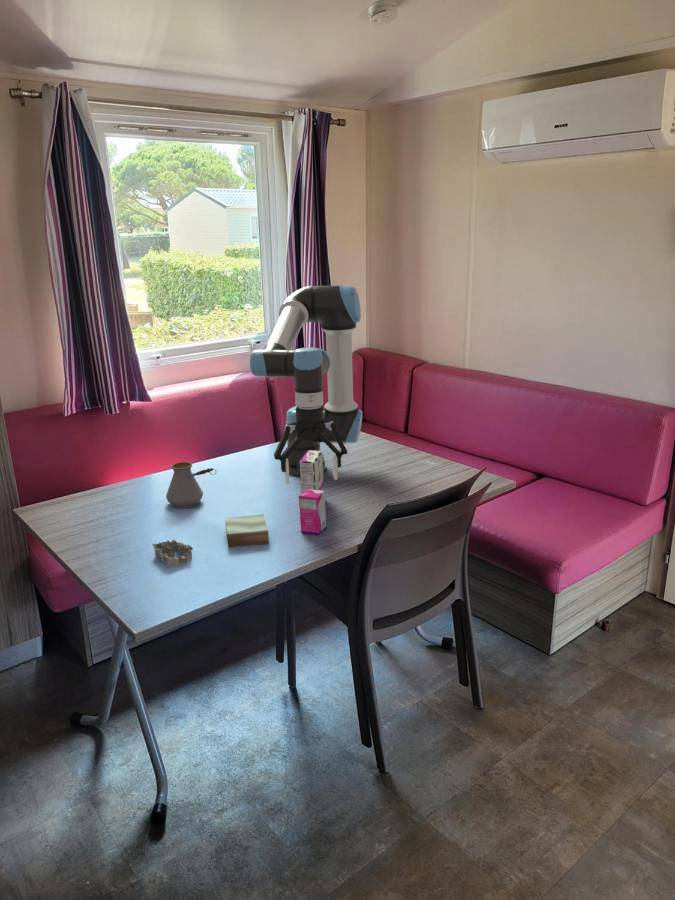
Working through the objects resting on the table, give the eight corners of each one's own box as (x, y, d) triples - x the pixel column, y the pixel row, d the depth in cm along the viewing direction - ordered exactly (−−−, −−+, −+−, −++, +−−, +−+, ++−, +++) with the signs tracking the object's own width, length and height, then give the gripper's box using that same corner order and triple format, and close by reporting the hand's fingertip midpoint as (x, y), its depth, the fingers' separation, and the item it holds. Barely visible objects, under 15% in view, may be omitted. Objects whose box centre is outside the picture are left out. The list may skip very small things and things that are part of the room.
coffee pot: (159, 504, 211) (154, 459, 206) (188, 493, 219) (184, 450, 215) (202, 521, 198) (198, 474, 193) (231, 509, 206) (228, 463, 201)
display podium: (226, 531, 191) (225, 518, 190) (264, 527, 193) (263, 514, 192) (228, 547, 181) (227, 534, 180) (268, 543, 183) (267, 530, 182)
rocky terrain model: (195, 561, 174) (194, 547, 173) (169, 570, 170) (167, 556, 168) (177, 547, 182) (176, 533, 181) (151, 555, 178) (150, 541, 176)
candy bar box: (309, 498, 214) (307, 449, 209) (324, 499, 213) (323, 450, 208) (300, 511, 203) (298, 461, 198) (316, 513, 202) (314, 461, 197)
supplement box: (308, 524, 194) (306, 488, 191) (326, 527, 192) (325, 490, 189) (299, 532, 189) (298, 495, 186) (319, 535, 187) (317, 497, 183)
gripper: (264, 412, 173) (268, 488, 180) (357, 406, 178) (358, 480, 184) (261, 406, 180) (265, 479, 187) (351, 400, 185) (352, 472, 192)
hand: (311, 480), depth 186 cm, fingers open, 13 cm apart
